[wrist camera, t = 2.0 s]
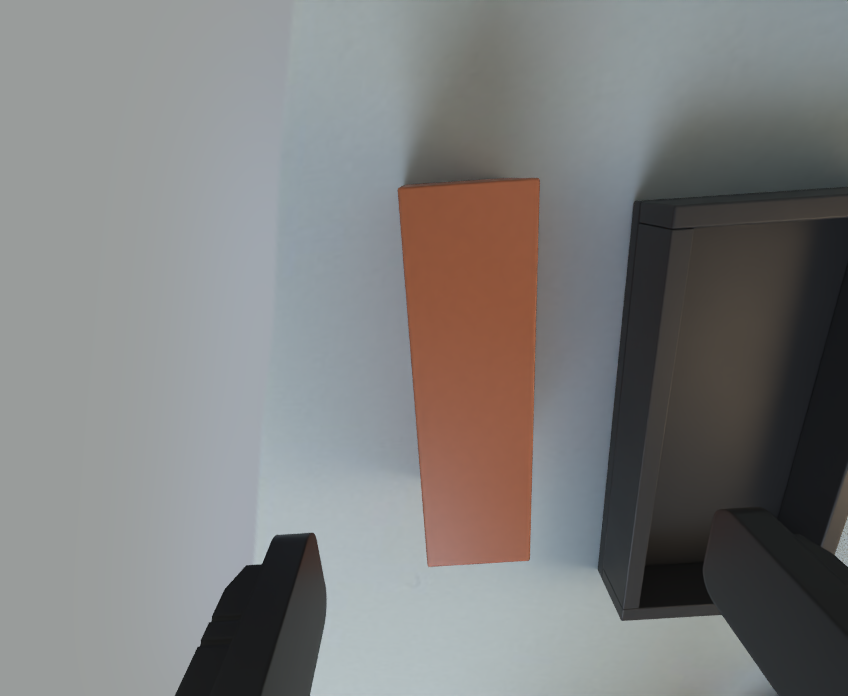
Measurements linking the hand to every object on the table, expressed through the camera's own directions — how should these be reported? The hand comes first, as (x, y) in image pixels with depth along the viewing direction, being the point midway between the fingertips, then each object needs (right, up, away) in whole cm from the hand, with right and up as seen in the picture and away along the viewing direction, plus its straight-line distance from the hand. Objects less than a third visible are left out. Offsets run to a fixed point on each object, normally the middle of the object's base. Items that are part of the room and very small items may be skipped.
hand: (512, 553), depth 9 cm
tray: (+12, +1, +12) cm, 17 cm away
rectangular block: (0, +4, +11) cm, 12 cm away
